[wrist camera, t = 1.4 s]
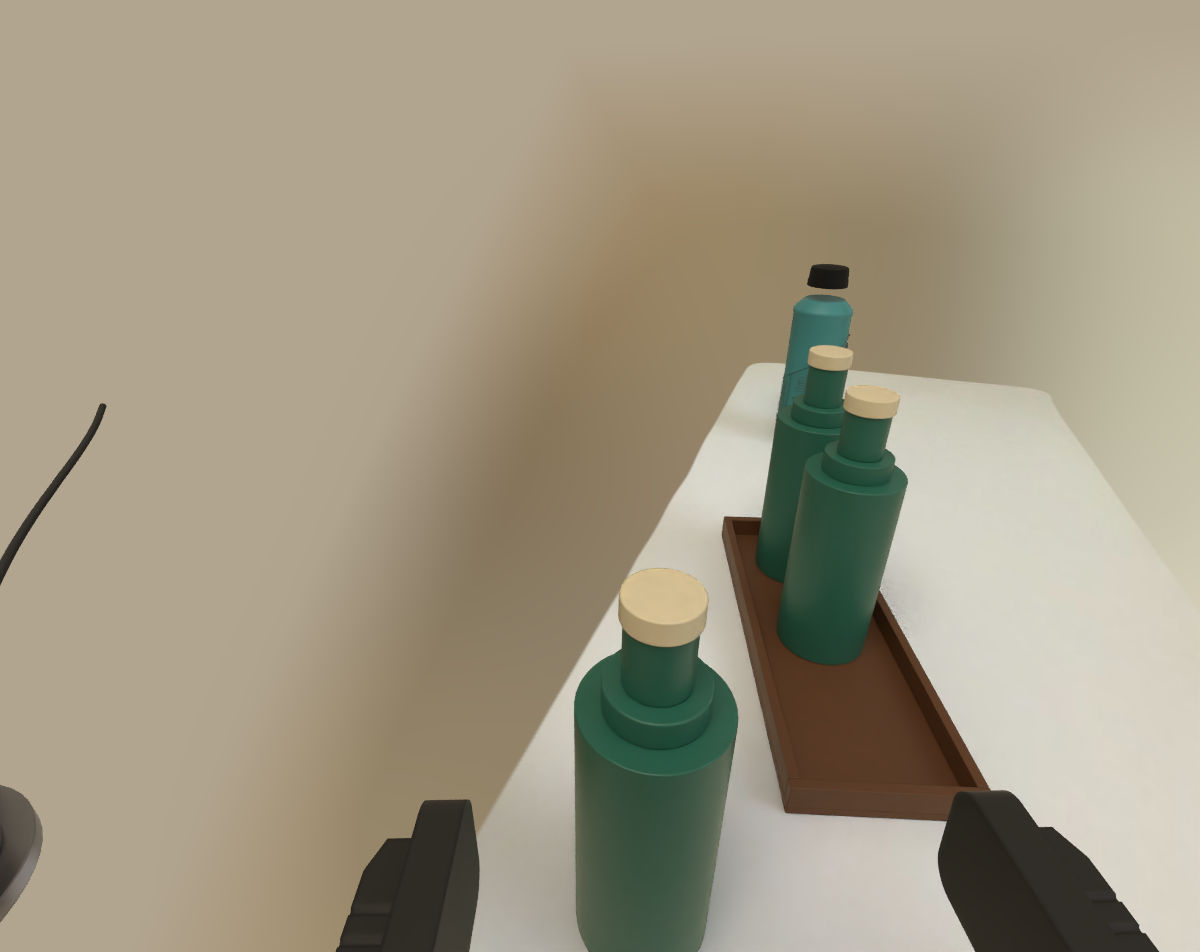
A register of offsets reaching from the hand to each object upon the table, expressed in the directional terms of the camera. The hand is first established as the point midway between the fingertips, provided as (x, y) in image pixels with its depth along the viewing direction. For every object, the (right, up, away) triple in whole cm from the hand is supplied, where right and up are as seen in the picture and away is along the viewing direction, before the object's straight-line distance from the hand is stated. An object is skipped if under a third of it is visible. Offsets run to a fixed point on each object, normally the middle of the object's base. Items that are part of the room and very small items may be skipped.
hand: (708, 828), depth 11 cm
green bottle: (0, -14, +18) cm, 23 cm away
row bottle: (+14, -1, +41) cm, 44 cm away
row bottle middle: (+14, -5, +34) cm, 37 cm away
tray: (+14, -6, +34) cm, 37 cm away
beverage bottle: (+22, +10, +65) cm, 70 cm away
